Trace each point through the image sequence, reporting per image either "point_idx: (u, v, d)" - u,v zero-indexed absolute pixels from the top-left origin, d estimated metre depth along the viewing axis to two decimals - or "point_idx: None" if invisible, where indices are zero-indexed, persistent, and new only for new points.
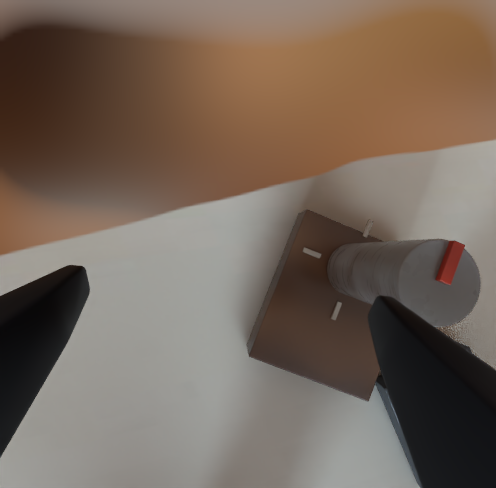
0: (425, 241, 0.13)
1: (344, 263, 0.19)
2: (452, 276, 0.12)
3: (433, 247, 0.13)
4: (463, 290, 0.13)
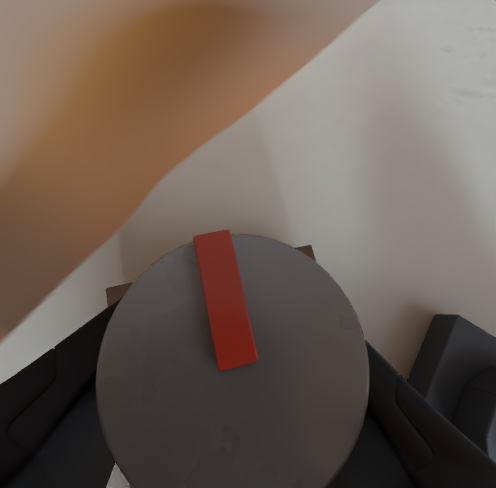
0: (136, 281, 0.04)
1: None
2: (247, 333, 0.04)
3: (163, 284, 0.04)
4: (312, 338, 0.04)
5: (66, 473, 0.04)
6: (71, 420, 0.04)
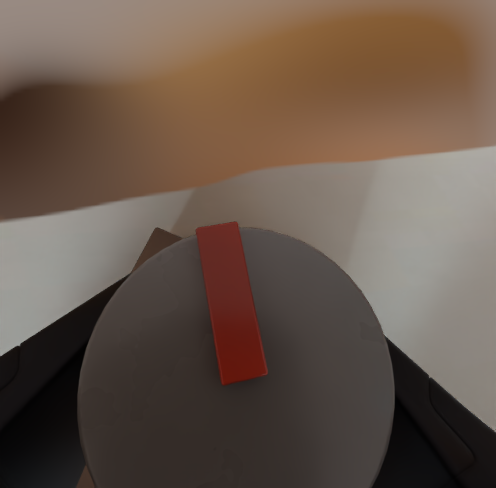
0: (129, 278, 0.04)
1: None
2: (255, 342, 0.03)
3: (159, 282, 0.04)
4: (329, 350, 0.04)
5: (25, 471, 0.04)
6: (29, 417, 0.04)
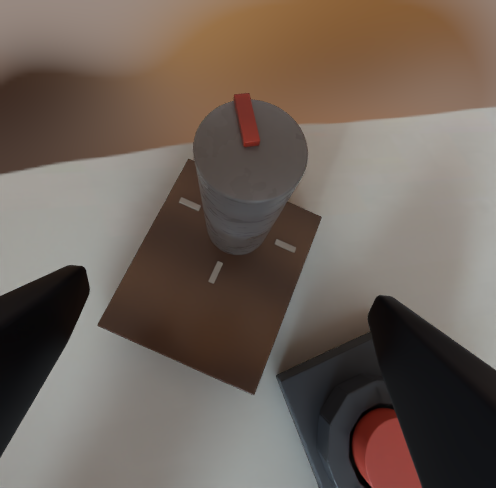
0: (208, 115, 0.10)
1: None
2: (255, 130, 0.09)
3: (220, 116, 0.10)
4: (283, 141, 0.10)
5: None
6: None
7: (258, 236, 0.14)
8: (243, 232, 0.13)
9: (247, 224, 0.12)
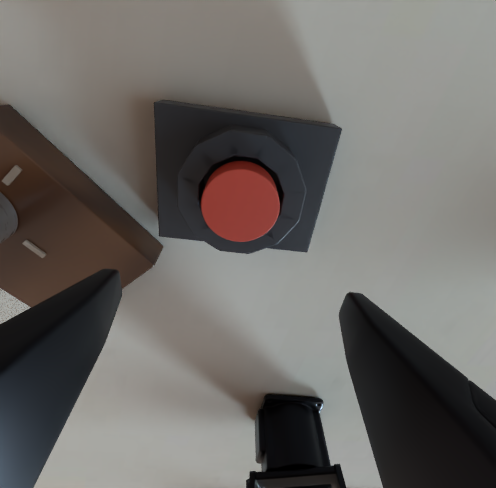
0: None
1: None
2: None
3: None
4: None
5: None
6: None
7: None
8: None
9: None
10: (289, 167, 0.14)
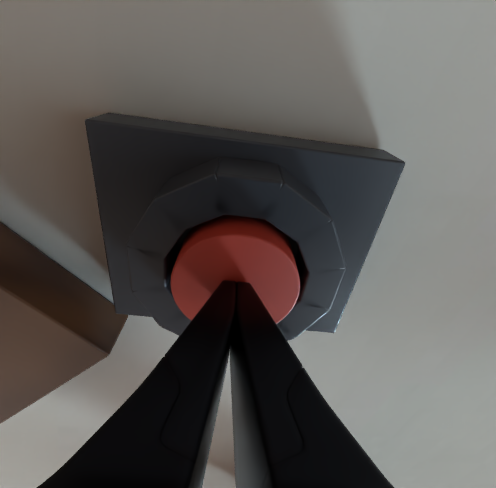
0: None
1: None
2: None
3: None
4: None
5: (196, 479, 0.04)
6: (205, 428, 0.04)
7: None
8: None
9: None
10: (320, 233, 0.08)
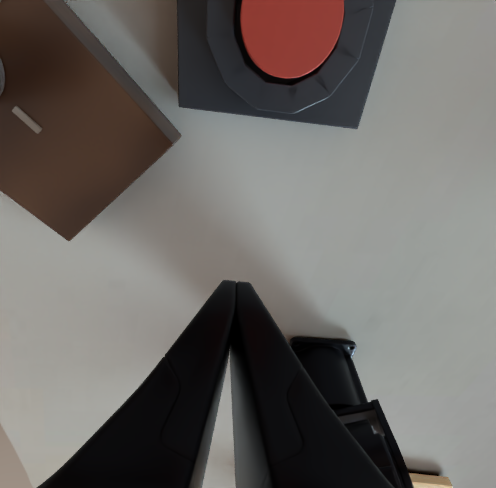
0: None
1: None
2: None
3: None
4: None
5: (196, 479, 0.04)
6: (205, 428, 0.04)
7: None
8: None
9: None
10: None
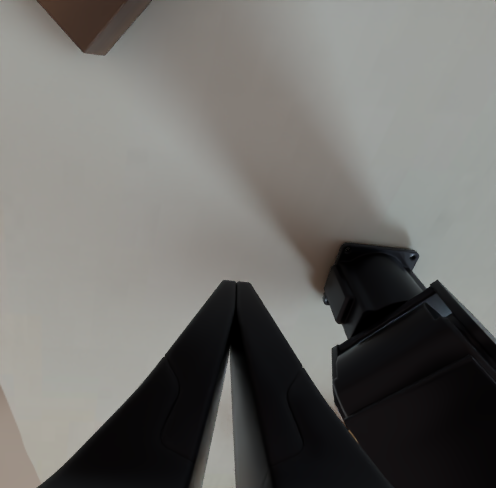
0: None
1: None
2: None
3: None
4: None
5: (196, 479, 0.04)
6: (205, 428, 0.04)
7: None
8: None
9: None
10: None
